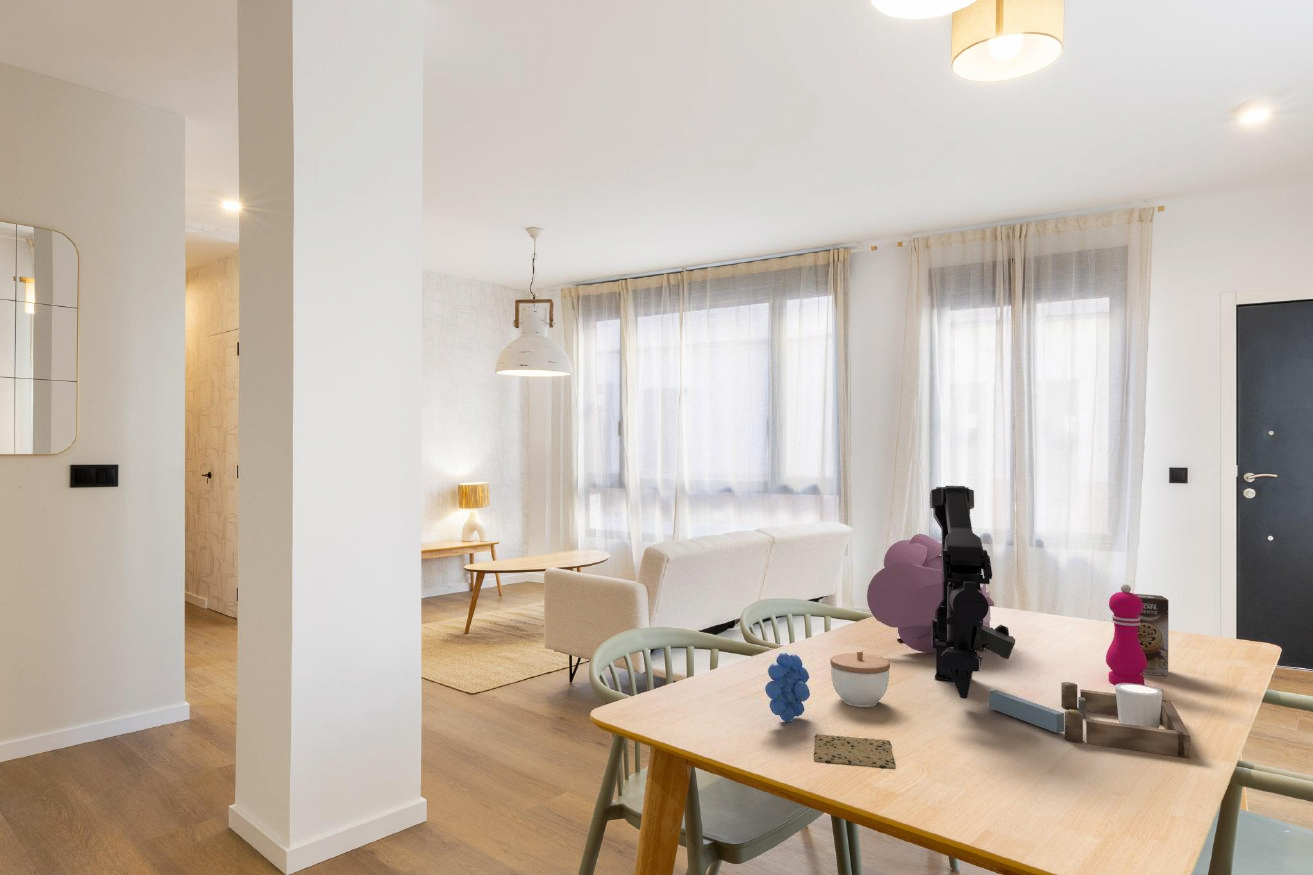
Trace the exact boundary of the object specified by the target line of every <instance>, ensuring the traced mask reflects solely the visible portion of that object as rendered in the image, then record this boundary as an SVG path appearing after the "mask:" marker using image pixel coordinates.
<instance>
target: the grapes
mask: <svg viewBox="0 0 1313 875" xmlns="http://www.w3.org/2000/svg"><path fill="white" fill-rule="evenodd" d="M767 673H768V676H769V678H770V679H771V680H769V682H767V684H766V685H765V687H764V690H765V693H766V696H767V697H768V698H769V699H771V700H770V702H769V703H768V705H769V708H770V711H771V712H772V714H774V715H775V716H779V718H780V719H781V720H782V721H783V722H785V723H790V722H791V721H793V720H794V718H795V717H800V716H802V715H803V713H804V712H805V707H804V704H803V702H806V701H807V700H808V699H809V698H810V696H811V693H810V688H809V686H808V685H807V682H808V681H809V679H810V674H809V672H808V671H807V669H806V668H805V667H804V666H803V660H802V659H801V657H800V656H798V655H797V654H790V655H789V654H788V653H787V652H781V653H779V654H778V656H777V657H776V662H775V663H774V662H773V663H772V664H770V665H769V667H768V668H767Z"/></svg>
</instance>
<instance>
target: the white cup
mask: <svg viewBox="0 0 1313 875" xmlns="http://www.w3.org/2000/svg"><path fill="white" fill-rule="evenodd" d="M1114 688H1115V694H1116V699H1117V708H1118V715H1117V718H1118V723H1122V724H1129V725H1137V726H1144V727H1152V728H1159V729H1160V724H1161V723H1160V722H1161V721H1160V713H1161V703H1162V699H1163V691H1162V689H1159V688H1157V687H1152V686H1148V685H1145V684H1144V685H1140V684H1130V683H1122V684H1117V685H1115V684H1114Z"/></svg>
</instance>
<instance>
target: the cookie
mask: <svg viewBox="0 0 1313 875" xmlns="http://www.w3.org/2000/svg"><path fill="white" fill-rule="evenodd" d="M892 749H893V746H892V743H891V740H888V739H879V738H877V739H876V738H868V737H855V736H854V737H852V736H844V735H843V736H842V735H833V734H832V735H831V734H829V735H828V734H819V733H816V734H815V735H814V749H813V762H814V763H818V764H819V763H821V764H833V765H843V766H856V767H867V768H877V769H888V770H896V768H897V766H896V765H897V764H896V762H895V756H894V754H893V750H892Z"/></svg>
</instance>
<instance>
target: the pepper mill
mask: <svg viewBox="0 0 1313 875" xmlns="http://www.w3.org/2000/svg"><path fill="white" fill-rule="evenodd" d="M1131 590H1132V588H1131V586H1130V585H1129V584H1122V585H1121V586H1120V591H1118V593H1116V592H1115V593H1114V594H1112V595H1111V596H1110V597H1109V600H1108V607H1109V610H1110V611H1111V612H1112V613H1113V614H1112V615H1111V618H1112V619H1111V622H1112V623H1113V625H1114V631H1113V639H1112V640H1111V643H1110V645H1109V647H1108V649H1107V651H1106V653H1105V654H1106V655H1105V663H1106V665H1107V666H1108V667H1109V668H1110V671H1109V672H1108V682H1109V683H1110V684H1112V685H1114V686H1115V685H1117V684H1122V683H1130V684H1140V685H1145V676H1144V675H1143V673H1142V672H1144V671H1145V670H1146V668H1147V660H1146V656H1145V654H1144V652H1143V650H1142V648H1141V645H1140V643H1139V640H1138V632H1137V631H1138V625H1140V621H1139V620H1140V618H1139V617H1138V616H1139V614H1140V613H1141V612H1142V611H1143V603H1142V600H1141V599H1140V598H1139V597H1138V596H1137V595H1135V594H1136V593H1133V592H1131Z"/></svg>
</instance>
